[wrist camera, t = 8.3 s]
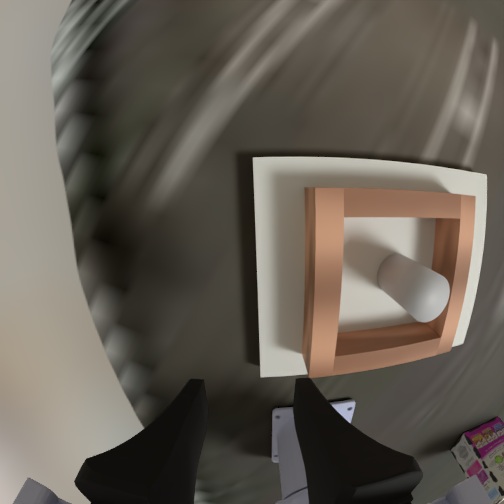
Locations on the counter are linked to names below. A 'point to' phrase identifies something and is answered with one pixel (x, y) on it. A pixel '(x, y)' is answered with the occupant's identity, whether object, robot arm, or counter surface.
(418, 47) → the counter surface
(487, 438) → the candy bar box
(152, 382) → the counter surface
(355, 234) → the hook board
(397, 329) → the loop
